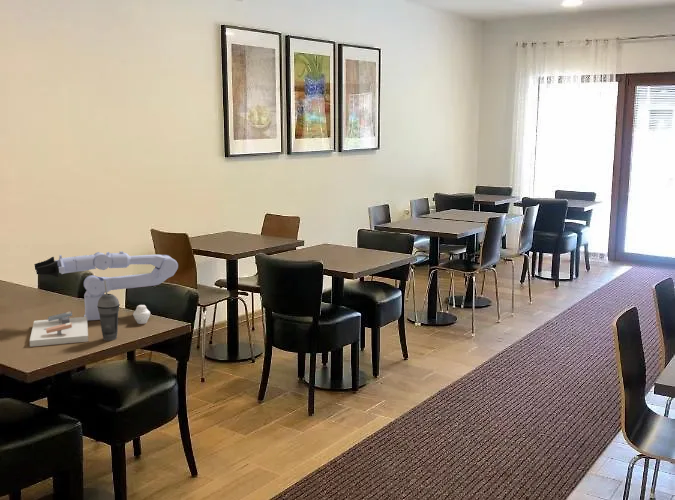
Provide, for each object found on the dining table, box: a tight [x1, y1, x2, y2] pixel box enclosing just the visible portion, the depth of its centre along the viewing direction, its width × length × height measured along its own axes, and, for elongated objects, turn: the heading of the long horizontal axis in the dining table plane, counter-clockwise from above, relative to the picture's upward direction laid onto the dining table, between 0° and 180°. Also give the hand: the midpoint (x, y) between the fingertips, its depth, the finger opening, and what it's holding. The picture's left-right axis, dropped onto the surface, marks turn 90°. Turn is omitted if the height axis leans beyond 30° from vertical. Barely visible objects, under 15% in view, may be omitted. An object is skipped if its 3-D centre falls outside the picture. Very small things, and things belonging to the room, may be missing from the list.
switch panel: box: [29, 316, 89, 348], centre depth 240 cm, size 18×26×3 cm
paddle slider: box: [62, 316, 71, 324], centre depth 240 cm, size 2×3×3 cm
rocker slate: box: [47, 310, 73, 321], centre depth 247 cm, size 8×3×1 cm, turn 110°
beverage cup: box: [97, 281, 120, 342], centre depth 233 cm, size 7×7×20 cm
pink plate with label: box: [46, 322, 72, 333], centre depth 232 cm, size 8×3×1 cm, turn 110°
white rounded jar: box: [132, 304, 151, 325], centre depth 254 cm, size 6×6×7 cm
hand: (35, 269), depth 249 cm, fingers open, 7 cm apart
